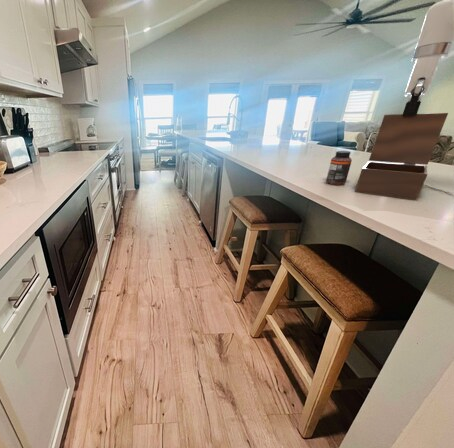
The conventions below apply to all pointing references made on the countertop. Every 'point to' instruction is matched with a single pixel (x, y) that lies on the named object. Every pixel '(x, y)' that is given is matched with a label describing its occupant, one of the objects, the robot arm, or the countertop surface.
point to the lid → (407, 138)
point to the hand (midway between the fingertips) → (409, 115)
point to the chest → (392, 179)
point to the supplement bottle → (339, 168)
